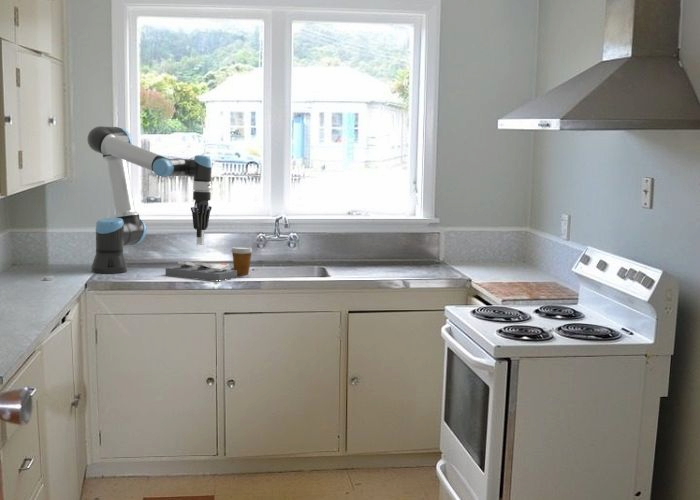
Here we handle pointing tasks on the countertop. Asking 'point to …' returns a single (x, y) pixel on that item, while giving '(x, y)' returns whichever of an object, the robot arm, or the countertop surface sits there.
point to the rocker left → (186, 263)
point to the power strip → (200, 272)
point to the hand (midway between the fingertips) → (199, 244)
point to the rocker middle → (203, 264)
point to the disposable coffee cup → (241, 259)
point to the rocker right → (220, 267)
